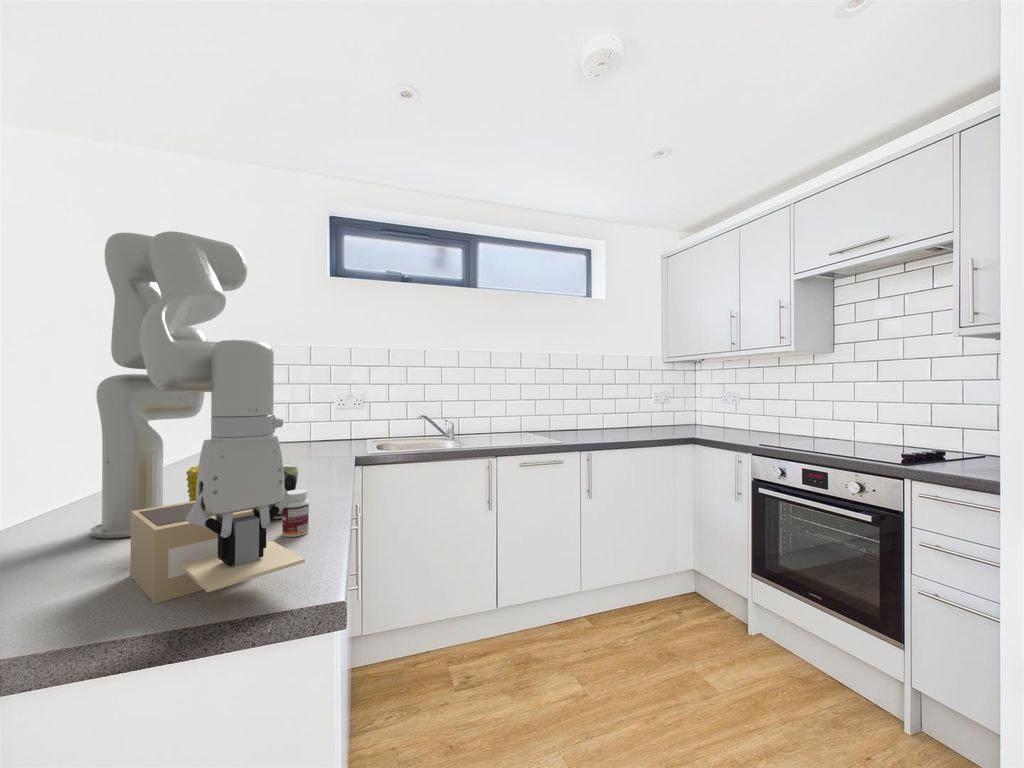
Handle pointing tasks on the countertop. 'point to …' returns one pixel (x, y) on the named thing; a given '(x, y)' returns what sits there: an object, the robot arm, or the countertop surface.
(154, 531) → the carton
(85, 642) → the countertop surface
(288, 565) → the flap
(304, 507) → the pill bottle
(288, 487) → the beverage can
